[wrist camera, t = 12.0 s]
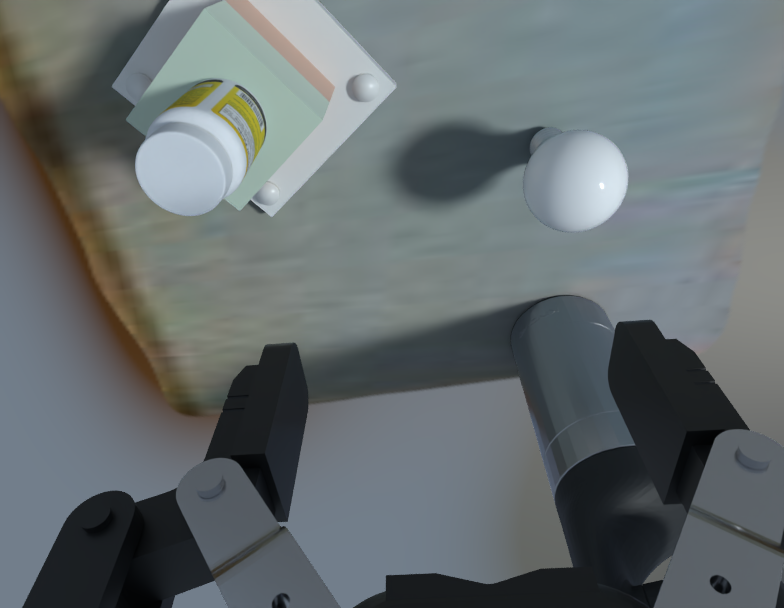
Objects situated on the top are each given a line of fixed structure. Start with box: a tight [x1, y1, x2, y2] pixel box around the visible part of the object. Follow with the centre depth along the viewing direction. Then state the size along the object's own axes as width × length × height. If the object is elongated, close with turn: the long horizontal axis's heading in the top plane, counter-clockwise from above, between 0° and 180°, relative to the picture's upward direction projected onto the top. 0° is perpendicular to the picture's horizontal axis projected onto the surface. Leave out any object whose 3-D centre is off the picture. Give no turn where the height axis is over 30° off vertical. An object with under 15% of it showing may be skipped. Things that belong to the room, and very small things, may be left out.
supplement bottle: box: [135, 78, 267, 216], centre depth 28 cm, size 5×5×8 cm
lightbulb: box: [523, 127, 628, 232], centre depth 36 cm, size 6×6×11 cm
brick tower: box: [112, 0, 396, 217], centre depth 35 cm, size 14×14×9 cm
